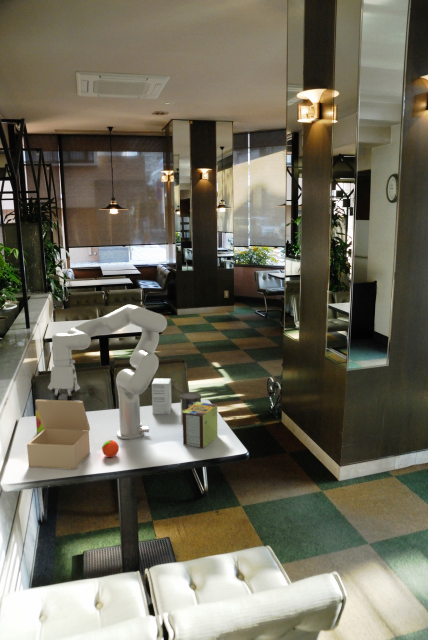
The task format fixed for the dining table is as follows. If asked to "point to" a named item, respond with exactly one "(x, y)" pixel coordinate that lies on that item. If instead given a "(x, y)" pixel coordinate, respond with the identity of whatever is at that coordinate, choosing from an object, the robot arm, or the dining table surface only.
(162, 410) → the supplement box
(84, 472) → the dining table surface
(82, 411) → the lid flap
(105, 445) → the clementine
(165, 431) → the dining table surface
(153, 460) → the dining table surface
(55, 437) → the carton
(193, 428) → the protein box
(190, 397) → the coffee can
